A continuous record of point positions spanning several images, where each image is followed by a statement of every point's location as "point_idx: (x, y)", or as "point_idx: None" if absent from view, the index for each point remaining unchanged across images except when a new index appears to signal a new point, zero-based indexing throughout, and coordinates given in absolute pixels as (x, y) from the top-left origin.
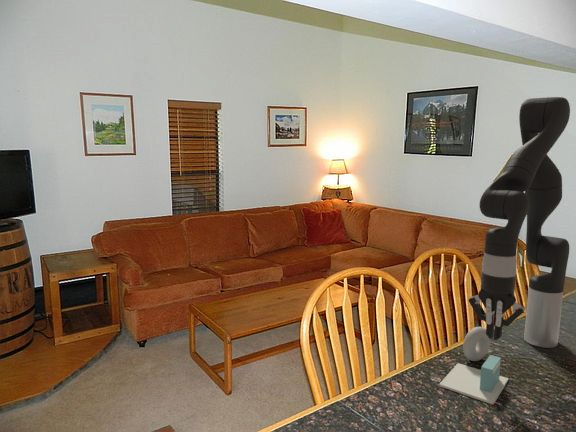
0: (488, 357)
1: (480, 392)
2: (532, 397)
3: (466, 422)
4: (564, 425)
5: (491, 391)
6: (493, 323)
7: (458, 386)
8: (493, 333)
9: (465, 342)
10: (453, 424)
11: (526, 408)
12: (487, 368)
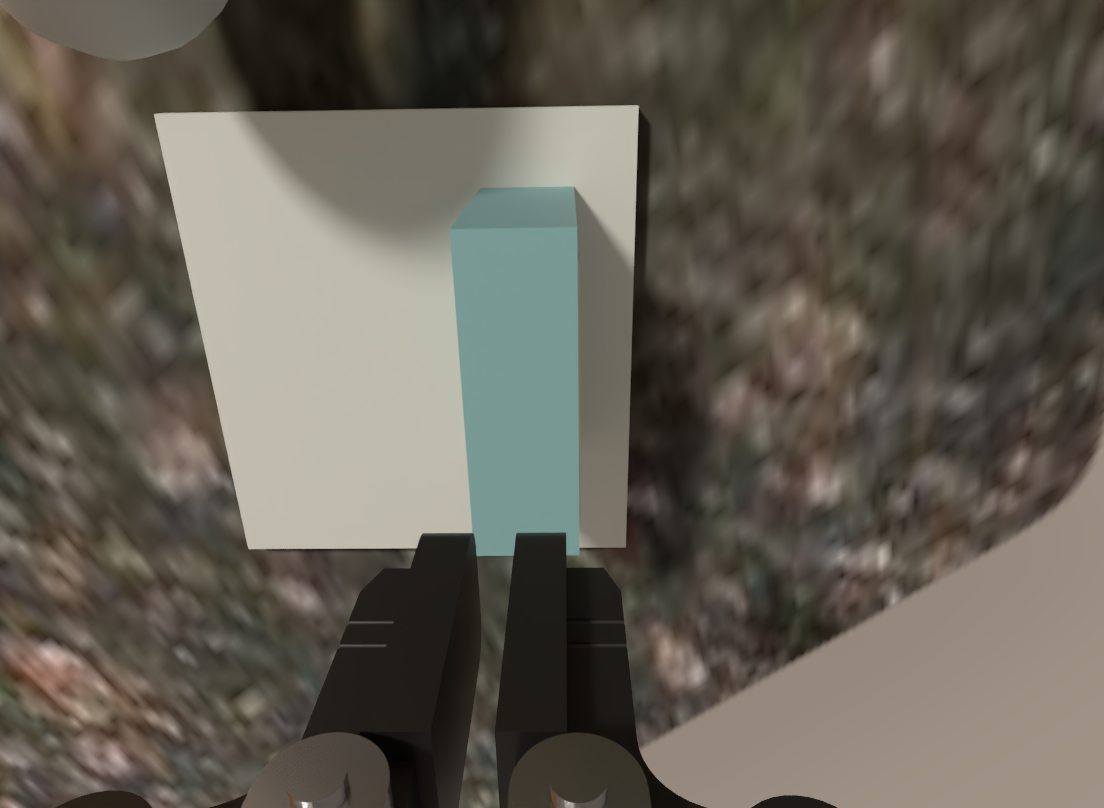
0: (457, 317)
1: None
2: (854, 271)
3: None
4: (1053, 495)
5: None
6: (427, 779)
7: (362, 501)
8: (466, 566)
9: (36, 32)
10: None
11: (823, 450)
12: None
